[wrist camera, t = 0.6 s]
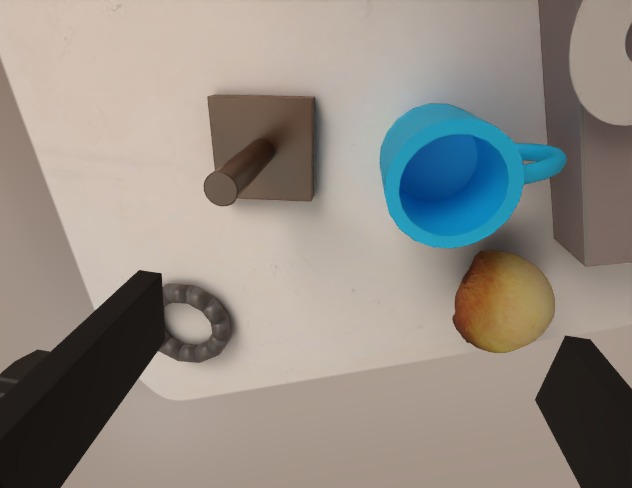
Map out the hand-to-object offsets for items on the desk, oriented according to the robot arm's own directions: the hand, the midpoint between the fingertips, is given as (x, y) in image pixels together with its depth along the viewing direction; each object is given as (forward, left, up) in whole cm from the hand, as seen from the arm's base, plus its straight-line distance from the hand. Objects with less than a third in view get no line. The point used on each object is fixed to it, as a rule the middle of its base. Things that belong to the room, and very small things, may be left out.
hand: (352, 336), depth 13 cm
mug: (-2, +8, -22) cm, 23 cm away
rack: (-2, -8, -21) cm, 23 cm away
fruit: (+9, +12, -21) cm, 26 cm away
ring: (+16, -17, -21) cm, 31 cm away
